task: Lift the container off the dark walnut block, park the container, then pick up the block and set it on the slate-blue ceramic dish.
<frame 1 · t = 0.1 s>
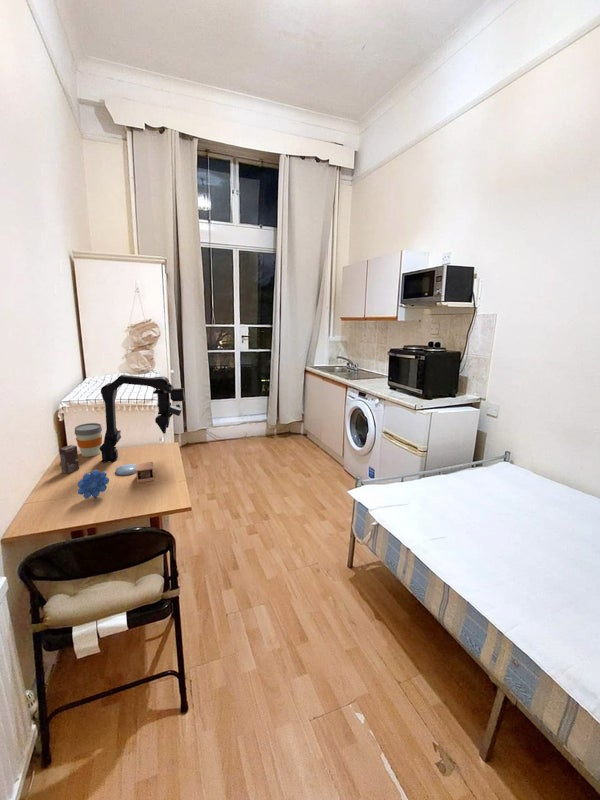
hand: (165, 430, 184), 15 cm above the table, fingers open, 9 cm apart
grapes: (95, 496, 148), on the table
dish: (127, 470, 171), on the table
container: (145, 477, 164), on the table
reusable coffee cup: (91, 453, 189), on the table
box: (71, 471, 169), on the table
block: (145, 478, 164), on the table
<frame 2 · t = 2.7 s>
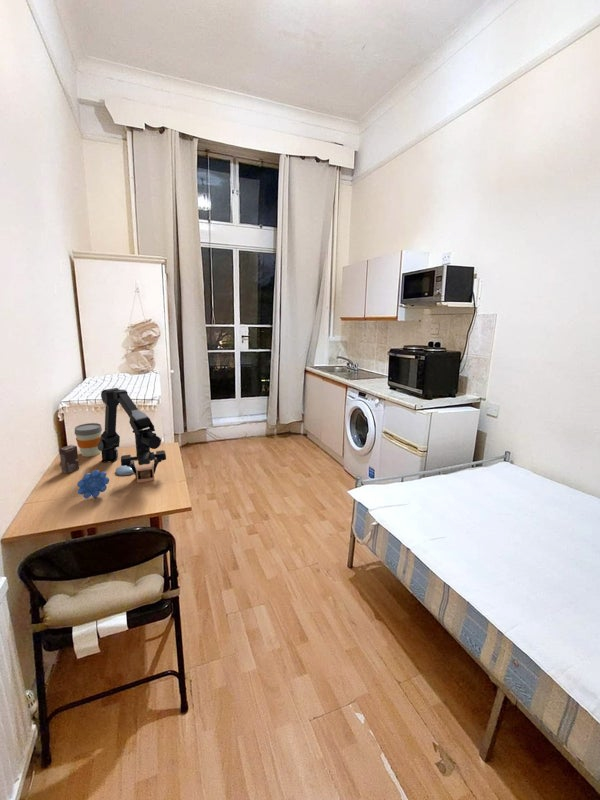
hand: (145, 474, 164), 2 cm above the table, fingers closed on container, 7 cm apart
container: (145, 477, 164), on the table, touching gripper
everything else where it was.
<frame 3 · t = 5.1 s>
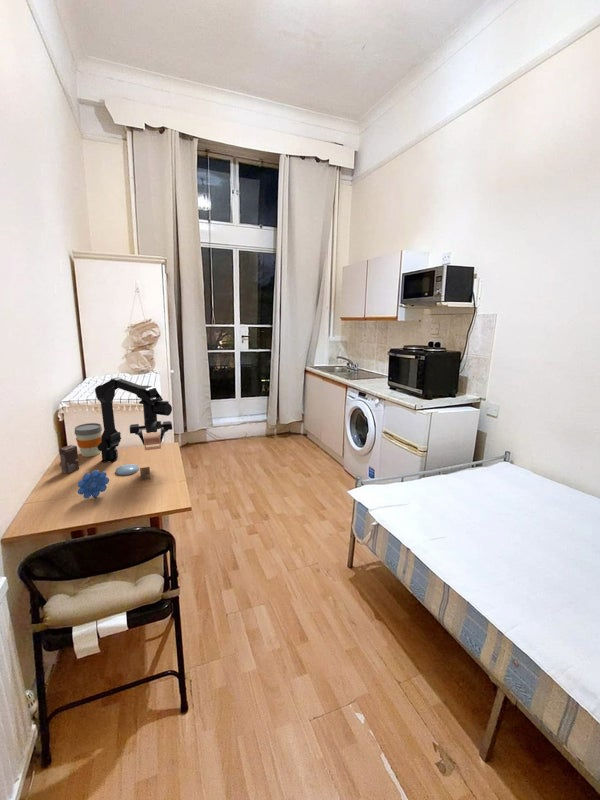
hand: (152, 443, 172), 12 cm above the table, fingers closed on container, 7 cm apart
container: (152, 446, 173), point 11 cm above the table, touching gripper
everything else where it was.
when the fingers open (2 cm above the table, at t = 7.3 s): container stays where it is, on the table.
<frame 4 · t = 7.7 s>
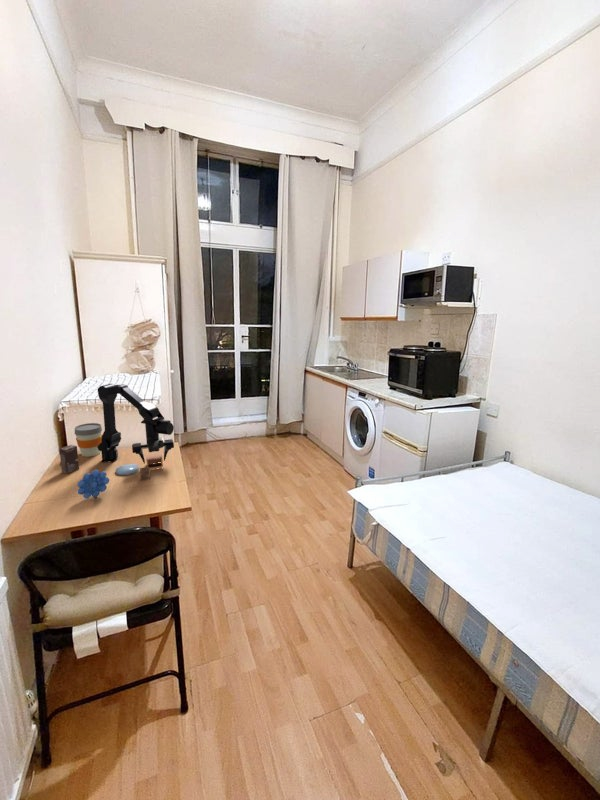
hand: (154, 461, 175), 2 cm above the table, fingers open, 9 cm apart
container: (154, 466, 176), on the table
everything else where it was.
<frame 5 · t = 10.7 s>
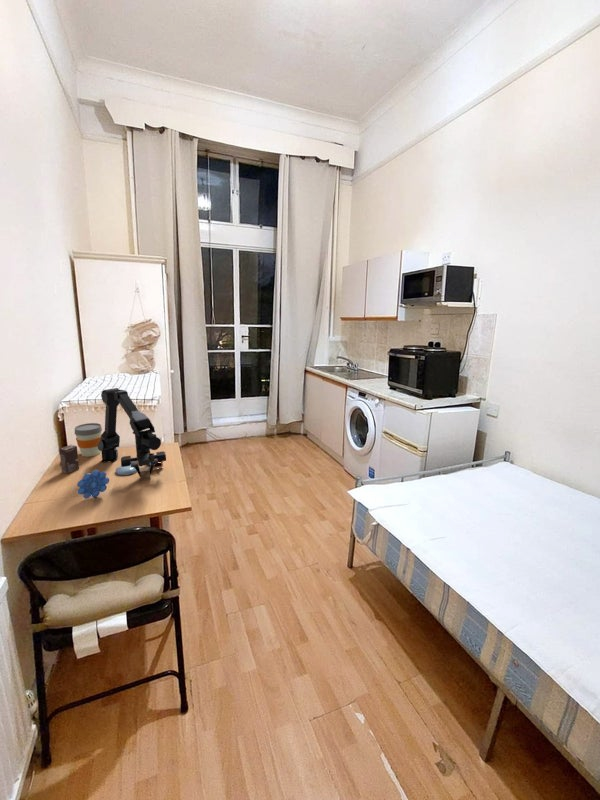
hand: (145, 475, 164), 1 cm above the table, fingers closed on block, 4 cm apart
block: (145, 477, 164), on the table, touching gripper
everything else where it was.
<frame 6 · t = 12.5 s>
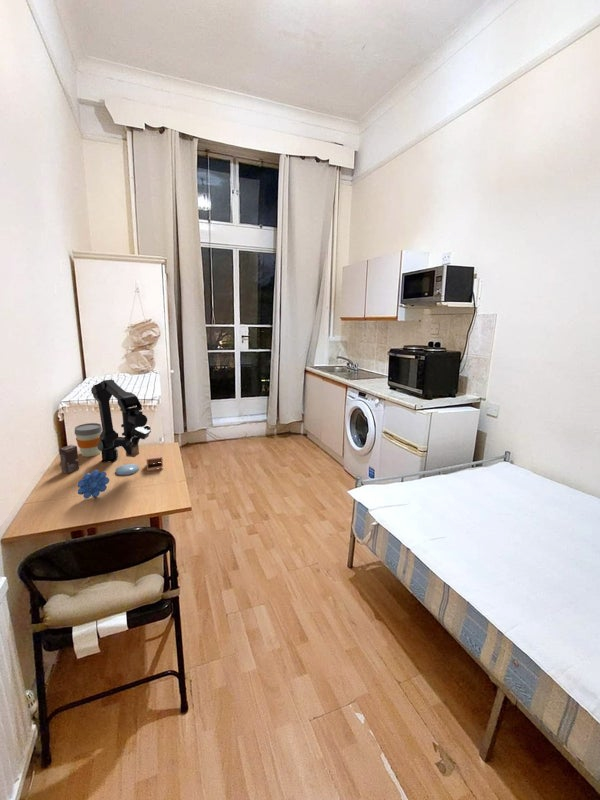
hand: (132, 453, 166), 10 cm above the table, fingers closed on block, 4 cm apart
block: (132, 455, 166), point 9 cm above the table, touching gripper
everything else where it was.
when the fingers open (4 cm above the table, at t = 14.5 s): block drops 2 cm, resting on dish.
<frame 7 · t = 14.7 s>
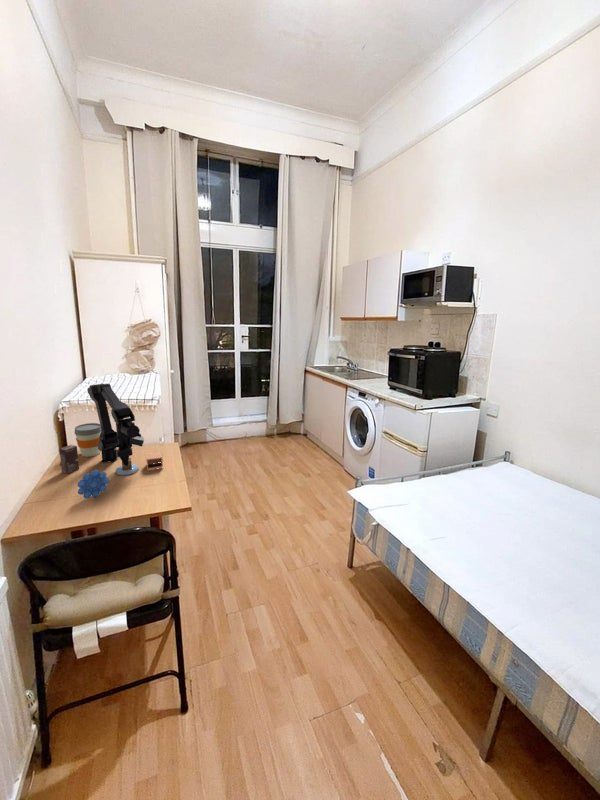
hand: (126, 463, 170), 4 cm above the table, fingers open, 6 cm apart
block: (127, 468, 170), point 1 cm above the table, touching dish
everything else where it was.
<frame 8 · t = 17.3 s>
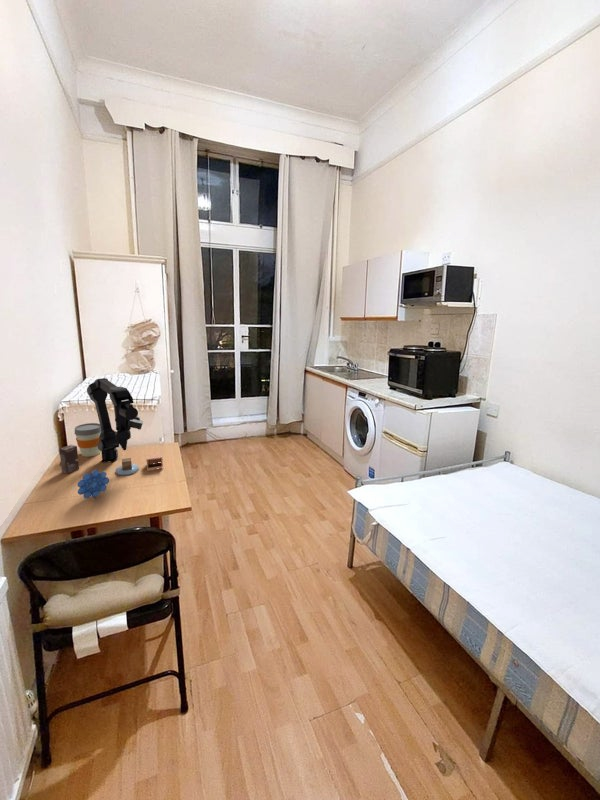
hand: (125, 446, 168), 12 cm above the table, fingers open, 9 cm apart
nothing on the table moved.
at the end: block inside the target area on the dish (0.0 cm from its centre), point 1.2 cm above the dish's base; container moved 12.1 cm from its start; the gripper is holding nothing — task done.
